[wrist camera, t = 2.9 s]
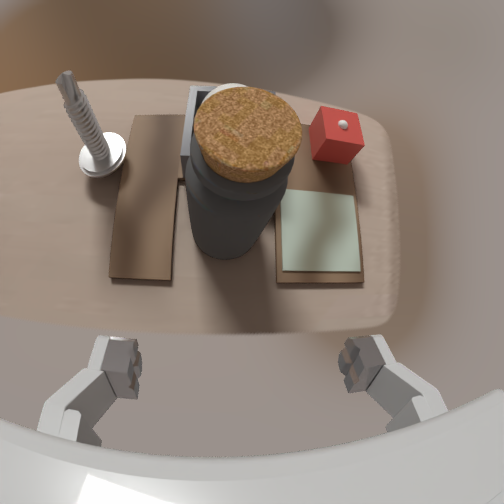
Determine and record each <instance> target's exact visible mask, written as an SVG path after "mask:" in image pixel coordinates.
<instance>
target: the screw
mask: <svg viewBox="0 0 504 504" xmlns="http://www.w3.org/2000/svg"><path fill="white" fill-rule="evenodd" d="M56 84H57V86H58V88H59V90H60V92H61V94H62V96H63V99H64V100H65V102H64V108H66V112H67V113H68V116H69V118H71V121H72V123H73V125H74V126H75V128H76V130H77V131H78V134H79V135H80V137H81V139H82V141H83V142H84V144H85V145H84V147H83V148H82V150H81V153H80V156H79V165H80V168H81V170H82V171H83V173H85V174H86V175H87V176H89V177H92V178H102V177H106V176H108V175H110V174H112V173H113V172H115V171H116V170H117V169H118V168H119V167H120V166H121V164H122V163H123V161H124V159H125V156H126V149H127V148H126V144H125V142H124V140H123V139H122V138H121V137H120V136H119V135H117V134H114V133H103V132H102V130H101V128H100V126H99V123H98V122H97V119H96V118H95V114H94V113H93V110H92V109H91V105H90V104H89V101H88V99H87V96H86V95H85V94H84V91H83V90H81V89H79V87H78V85H77V83H76V80H75V78H74V75H73V73H72V72H71V71H65V72H63V73H62V74H61V75H60V76H59V77H58V78H57V79H56Z"/></svg>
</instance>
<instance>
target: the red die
mask: <svg viewBox="0 0 504 504" xmlns="http://www.w3.org/2000/svg"><path fill="white" fill-rule="evenodd" d="M309 136H310V144H311V153H312V160H319V161H326V162H333V163H340V164H348V163H349V162H350V161H351V160H352V159H353V158H354V157H355V156H356V154H357V153H358V152H359V151H360V150H361V149H362V148H363V147H364V141H363V136H362V132H361V127H360V123H359V119H358V115H357V113H353V112H348V111H344V110H339V109H334V108H329V107H324V106H321V107H320V109H319V111H318V112H317V114H316V116H315V118H314V120H313V121H312V123H311V125H310V127H309Z"/></svg>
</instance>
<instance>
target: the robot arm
mask: <svg viewBox="0 0 504 504" xmlns="http://www.w3.org/2000/svg"><path fill="white" fill-rule="evenodd" d="M338 363H339V369H340V371H341V373H343V374H344V375H345V379H344V383H345V385H346V388H347V391H348V393H353V392H360V391H366V392H367V393H368V394H369V395H370V396H371V397H372V398H373V399H374V400H375V401H376V402H377V403H378V404H379V405H380V406H381V407H382V408H383V409H384V410H386V411H387V412H388V413H389V414H390V415H391V416H392V417H393V419H392V420H391V421H390V422H389V423H388V424H387V426H386V430H387V433H384V434H381V435H377V436H374V437H370V438H366V439H361V440H357V441H353V442H348V443H344V444H339V445H334V446H328V447H323V448H317V449H311V450H304V451H297V452H289V453H281V454H271V455H257V456H241V457H187V456H169V455H157V454H146V453H137V452H130V451H123V450H116V449H111V448H105V447H101V443H102V440H101V439H100V438H99V436H98V435H97V434H96V433H95V432H94V430H93V429H92V428H93V427H94V425H95V424H96V423H97V422H98V421H99V419H100V418H101V417H102V416H103V415H104V413H105V412H106V411H107V410H108V409H109V407H110V406H111V405H112V404H113V403H114V402H115V400H116V399H117V398H126V399H138V392H139V382H138V378H139V377H140V376H141V372H142V358H141V353H140V352H139V351H138V342H137V339H130V338H121V337H112V336H103V335H99V336H98V337H97V338H96V342H95V344H94V347H93V351H92V354H91V357H90V360H89V364H88V367H87V369H86V368H83V369H82V370H81V371H80V372H79V373H78V374H76V375H75V376H74V377H73V378H72V379H71V380H69V381H68V382H67V383H66V384H65V385H64V386H63V387H61V388H60V389H59V390H58V391H57V392H56V393H55V394H53V395H52V396H51V397H50V398H49V399H48V400H47V401H45V403H44V406H43V410H42V413H41V417H40V420H39V424H38V427H37V431H36V430H33V429H30V428H27V427H24V426H21V425H18V424H16V423H13V422H10V421H8V420H5V419H3V418H0V504H504V391H503V390H501V389H496V390H493V391H491V392H489V393H487V394H485V395H483V396H481V397H479V398H477V399H475V400H473V401H471V402H469V403H466V404H464V405H462V406H460V407H458V408H455V409H453V410H450V411H448V410H447V407H446V405H445V403H444V401H443V399H442V397H441V395H440V393H439V391H438V390H437V389H436V388H435V387H434V386H432V385H431V384H429V383H428V382H426V381H425V380H424V379H422V378H421V377H419V376H418V375H417V374H415V373H414V372H412V371H411V370H409V369H408V368H407V367H405V366H404V365H402V364H401V363H397V362H396V361H395V359H394V357H393V355H392V353H391V351H390V349H389V347H388V345H387V343H386V342H385V340H384V338H383V336H382V335H370V336H359V337H350V338H348V339H347V340H346V342H345V348H344V349H343V350H341V352H340V354H339V359H338Z"/></svg>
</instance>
